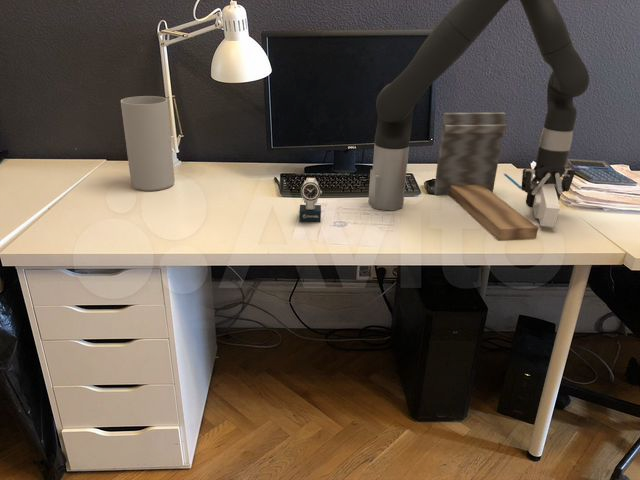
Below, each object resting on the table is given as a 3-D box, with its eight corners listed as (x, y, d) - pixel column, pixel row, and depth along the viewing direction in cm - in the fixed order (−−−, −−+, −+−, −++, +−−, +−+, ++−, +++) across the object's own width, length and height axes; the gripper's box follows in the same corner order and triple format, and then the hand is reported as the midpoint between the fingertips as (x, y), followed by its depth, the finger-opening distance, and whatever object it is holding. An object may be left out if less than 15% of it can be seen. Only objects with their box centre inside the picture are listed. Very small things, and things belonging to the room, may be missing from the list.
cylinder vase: (122, 188, 158) (110, 101, 147) (149, 175, 168) (139, 94, 158) (158, 194, 154) (148, 106, 143) (183, 181, 164) (176, 98, 154)
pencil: (522, 191, 166) (522, 189, 165) (502, 174, 181) (502, 172, 181) (524, 191, 166) (525, 189, 165) (504, 174, 181) (504, 172, 181)
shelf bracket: (540, 197, 160) (550, 160, 153) (552, 247, 141) (565, 207, 133) (521, 195, 161) (530, 158, 154) (530, 245, 142) (542, 205, 134)
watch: (299, 225, 137) (299, 184, 132) (300, 213, 144) (300, 173, 139) (321, 225, 137) (322, 184, 132) (320, 213, 144) (322, 174, 139)
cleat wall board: (483, 241, 131) (499, 144, 121) (433, 193, 161) (443, 112, 151) (550, 237, 134) (572, 143, 124) (489, 191, 164) (503, 112, 154)
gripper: (536, 150, 134) (523, 212, 141) (588, 149, 137) (573, 210, 144) (521, 142, 141) (510, 202, 148) (571, 141, 143) (557, 200, 150)
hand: (541, 205), depth 146 cm, fingers closed on shelf bracket, 6 cm apart
